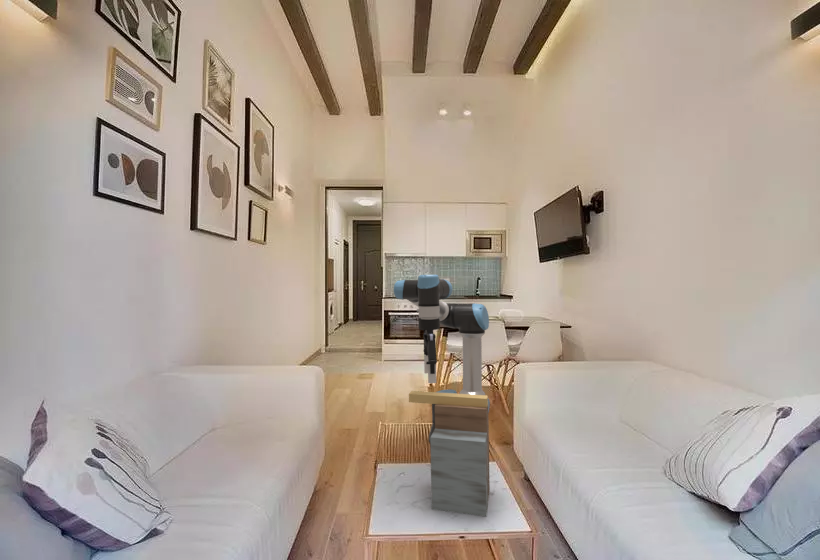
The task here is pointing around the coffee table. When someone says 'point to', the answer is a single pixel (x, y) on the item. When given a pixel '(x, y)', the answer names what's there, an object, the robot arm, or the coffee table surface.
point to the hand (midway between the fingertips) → (430, 377)
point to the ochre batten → (448, 399)
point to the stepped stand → (460, 459)
